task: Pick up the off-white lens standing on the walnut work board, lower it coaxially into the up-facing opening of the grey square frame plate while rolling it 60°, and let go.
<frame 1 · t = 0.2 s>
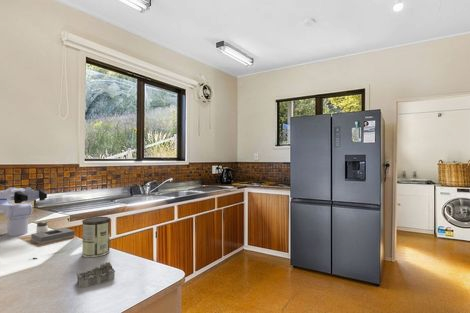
hand: (36, 196, 124), 21 cm above the worktop, tool horizontal, fingers open, 7 cm apart
work board: (48, 239, 128), on the worktop
coffee can: (95, 253, 111), on the worktop
egg carton: (96, 281, 87), on the worktop
lens: (41, 235, 131), point 1 cm above the worktop, touching work board
grey square frame plate: (53, 238, 127), resting on work board
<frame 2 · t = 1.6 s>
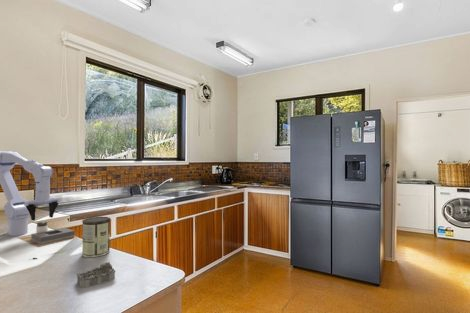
hand: (42, 218, 131), 9 cm above the worktop, tool pointing down, fingers open, 7 cm apart
nothing on the worktop moved.
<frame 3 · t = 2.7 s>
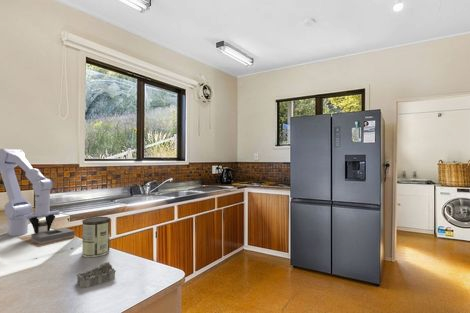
hand: (42, 231, 131), 3 cm above the worktop, tool pointing down, fingers closed on lens, 4 cm apart
lens: (41, 235, 131), point 1 cm above the worktop, touching gripper, work board
everything else where it was.
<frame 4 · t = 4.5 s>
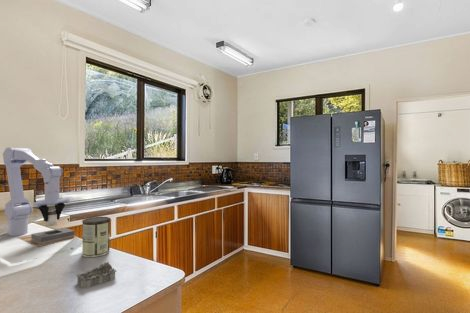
hand: (51, 220, 127), 10 cm above the worktop, tool pointing down, fingers closed on lens, 4 cm apart
lens: (51, 224, 127), point 7 cm above the worktop, touching gripper
everything else where it was.
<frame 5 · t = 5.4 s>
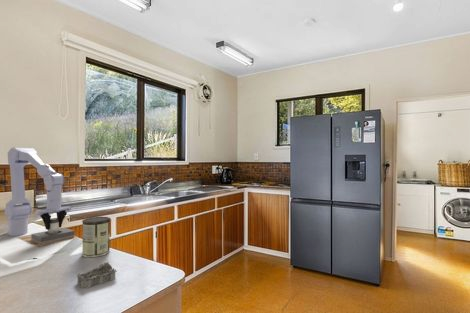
hand: (53, 228, 127), 6 cm above the worktop, tool pointing down, fingers closed on lens, 4 cm apart
lens: (53, 232, 127), point 4 cm above the worktop, touching gripper
everything else where it was.
when the fingers open (5 cm above the worktop, at t = 6.2 s): lens stays where it is, resting on grey square frame plate.
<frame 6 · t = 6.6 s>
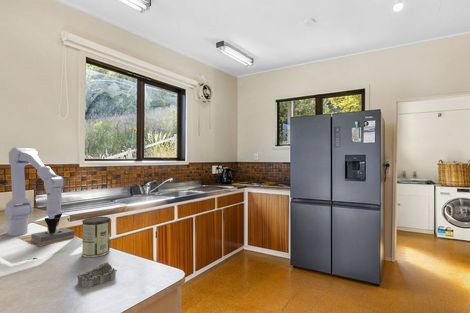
hand: (53, 231, 127), 5 cm above the worktop, tool pointing down, fingers open, 7 cm apart
lens: (53, 236, 127), point 2 cm above the worktop, touching grey square frame plate
everything else where it was.
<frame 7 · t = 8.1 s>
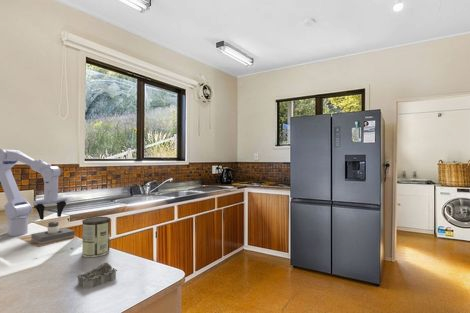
hand: (50, 217, 133), 9 cm above the worktop, tool pointing down, fingers open, 7 cm apart
nothing on the worktop moved.
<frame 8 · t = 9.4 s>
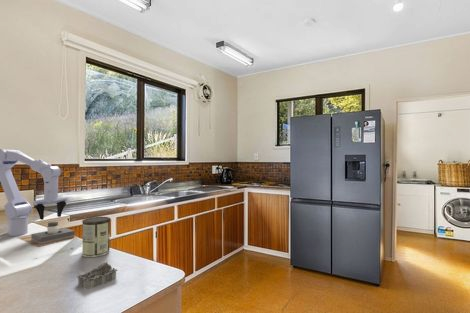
hand: (50, 217, 133), 9 cm above the worktop, tool pointing down, fingers open, 7 cm apart
nothing on the worktop moved.
at the end: lens 0.1 cm off-centre on the grey square frame plate, point 1.1 cm above the grey square frame plate's base; lens tilted 2°; the gripper is holding nothing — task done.
